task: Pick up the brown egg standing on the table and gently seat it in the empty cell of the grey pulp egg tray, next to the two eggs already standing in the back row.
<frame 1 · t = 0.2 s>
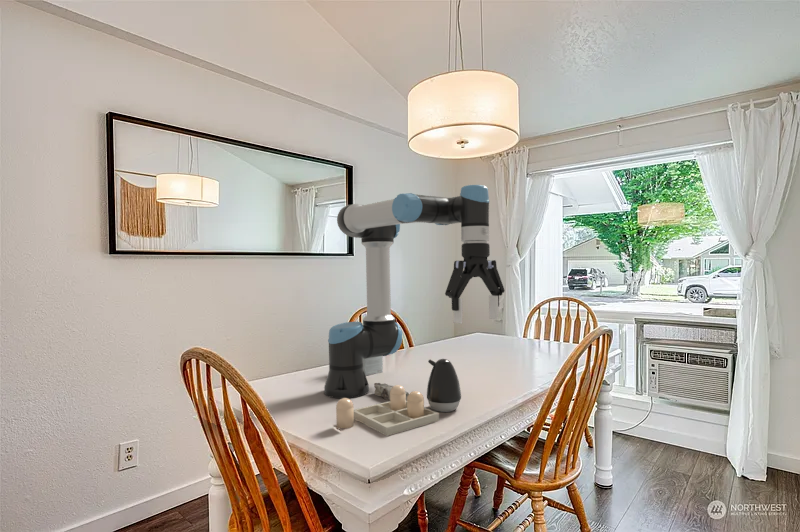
hand: (476, 321, 121), 28 cm above the table, tool pointing down, fingers open, 13 cm apart
egg tray: (394, 420, 124), on the table
supplement box: (367, 372, 181), on the table
pump dispenser: (443, 410, 132), on the table
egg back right: (415, 419, 123), resting on egg tray
egg back left: (398, 412, 129), resting on egg tray
mineral rock: (392, 399, 144), on the table
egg: (345, 427, 119), on the table
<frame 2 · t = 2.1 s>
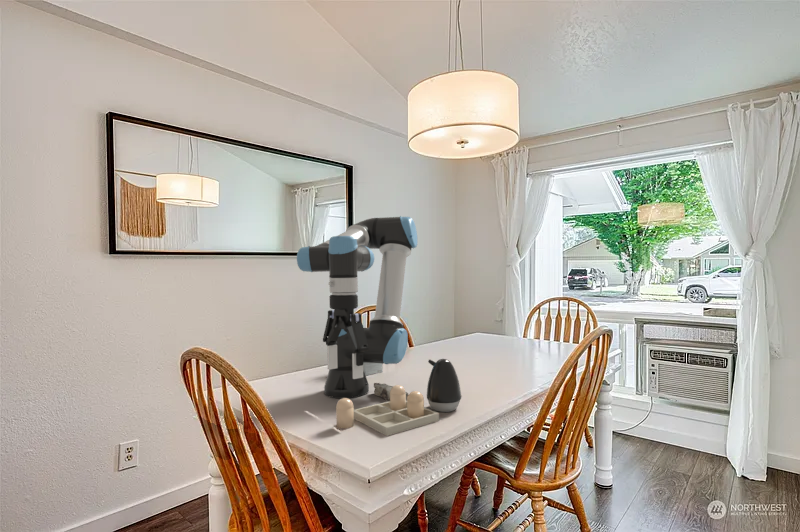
hand: (344, 373, 119), 14 cm above the table, tool pointing down, fingers open, 13 cm apart
nothing on the table moved.
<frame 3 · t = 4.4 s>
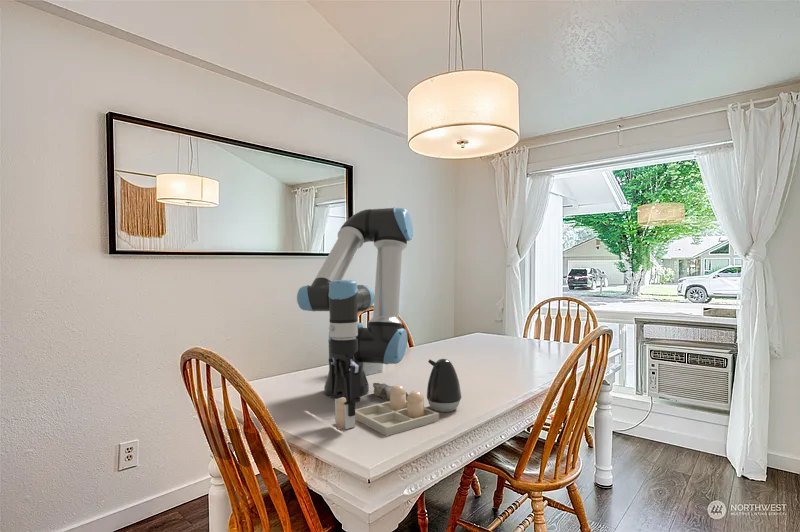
hand: (345, 424, 119), 1 cm above the table, tool pointing down, fingers closed on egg, 4 cm apart
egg: (345, 427, 119), on the table, touching gripper
everything else where it was.
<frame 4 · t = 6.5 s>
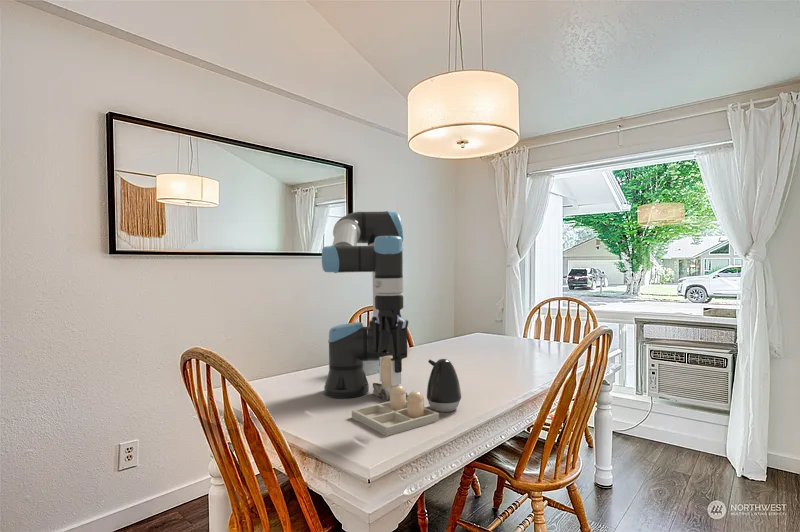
hand: (390, 382, 118), 12 cm above the table, tool pointing down, fingers closed on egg, 4 cm apart
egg: (390, 385, 118), point 11 cm above the table, touching gripper
everything else where it was.
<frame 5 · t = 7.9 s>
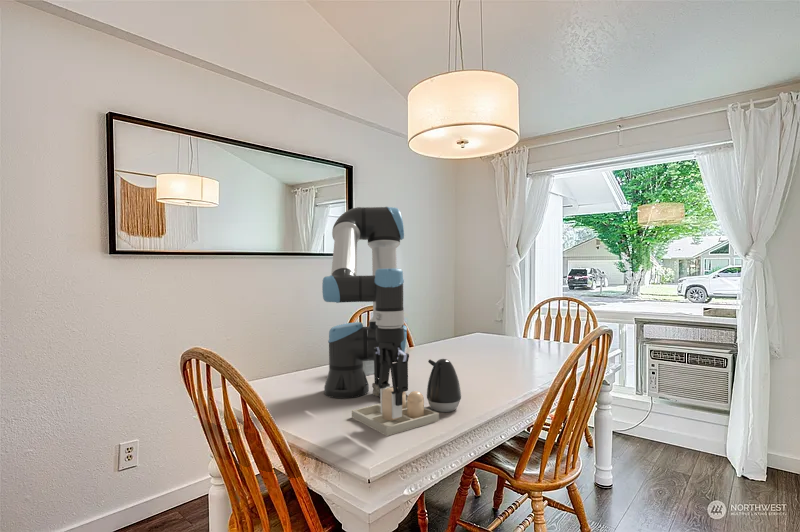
hand: (391, 414, 118), 4 cm above the table, tool pointing down, fingers closed on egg, 4 cm apart
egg: (391, 417, 118), point 3 cm above the table, touching gripper
everything else where it was.
when the fingers open (3 cm above the table, at t = 8.7 s): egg drops 2 cm, resting on egg tray.
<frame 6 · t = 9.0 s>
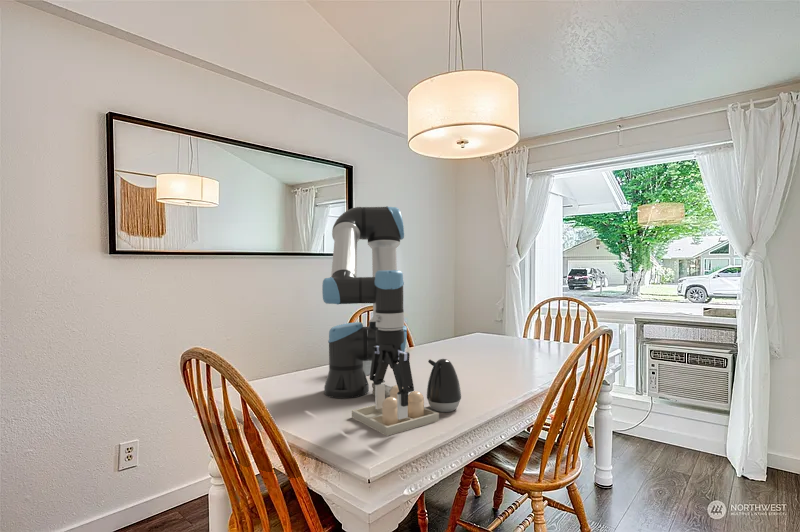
hand: (391, 412, 118), 4 cm above the table, tool pointing down, fingers open, 9 cm apart
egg: (391, 426, 118), resting on egg tray
everything else where it was.
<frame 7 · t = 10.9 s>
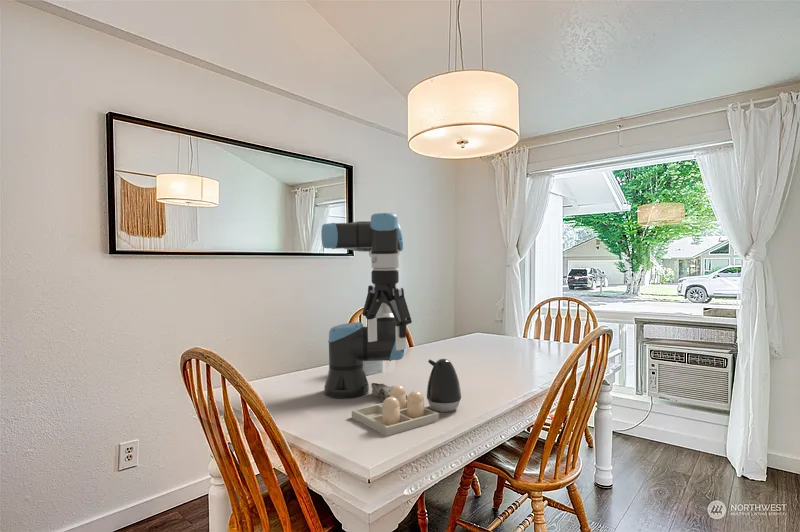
hand: (386, 345, 124), 21 cm above the table, tool pointing down, fingers open, 13 cm apart
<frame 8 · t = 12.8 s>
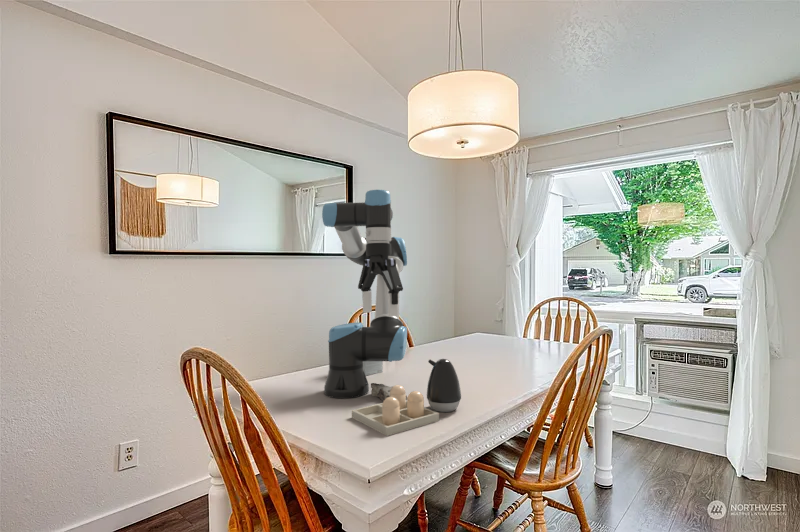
hand: (379, 314, 132), 29 cm above the table, tool pointing down, fingers open, 13 cm apart
at the end: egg 0.0 cm from the target spot on the egg tray, point 0.5 cm above the egg tray's base; the gripper is holding nothing; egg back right moved 0.1 cm from its start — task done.
